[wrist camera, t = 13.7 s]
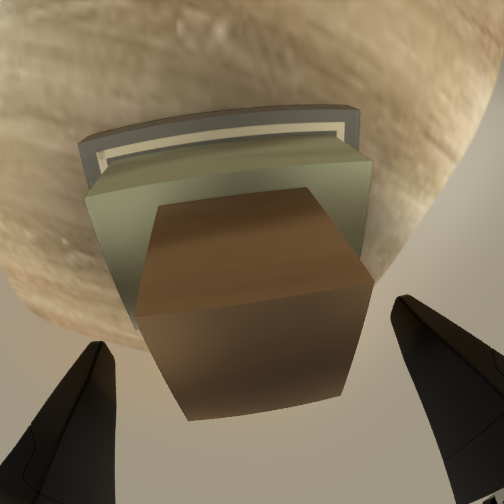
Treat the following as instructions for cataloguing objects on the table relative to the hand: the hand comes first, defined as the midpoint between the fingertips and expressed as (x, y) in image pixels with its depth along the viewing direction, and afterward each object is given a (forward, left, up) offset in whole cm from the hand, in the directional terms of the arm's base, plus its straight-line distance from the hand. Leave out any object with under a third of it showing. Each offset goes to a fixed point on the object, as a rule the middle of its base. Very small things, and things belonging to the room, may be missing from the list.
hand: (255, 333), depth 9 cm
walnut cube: (0, 0, -4) cm, 4 cm away
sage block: (0, 0, -8) cm, 8 cm away
